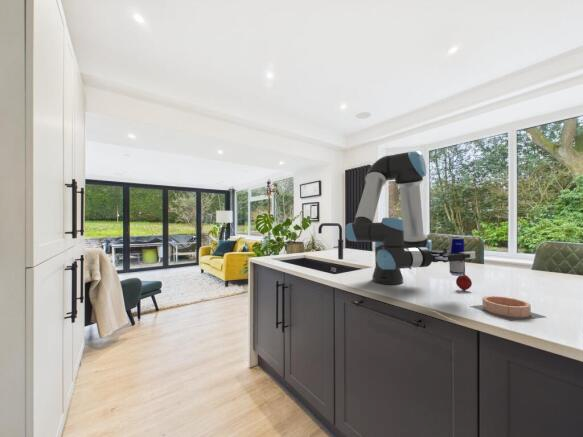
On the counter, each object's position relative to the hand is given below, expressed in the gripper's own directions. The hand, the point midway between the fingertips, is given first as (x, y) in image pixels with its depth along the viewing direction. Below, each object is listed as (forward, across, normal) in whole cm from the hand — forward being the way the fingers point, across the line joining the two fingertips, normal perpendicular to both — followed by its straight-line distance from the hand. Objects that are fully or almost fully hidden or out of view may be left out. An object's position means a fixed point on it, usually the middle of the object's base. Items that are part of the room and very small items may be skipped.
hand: (467, 253), depth 101 cm
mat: (-2, +16, -18) cm, 24 cm away
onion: (+8, -10, -18) cm, 22 cm away
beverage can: (-5, 0, -8) cm, 10 cm away
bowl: (-2, +16, -17) cm, 24 cm away
